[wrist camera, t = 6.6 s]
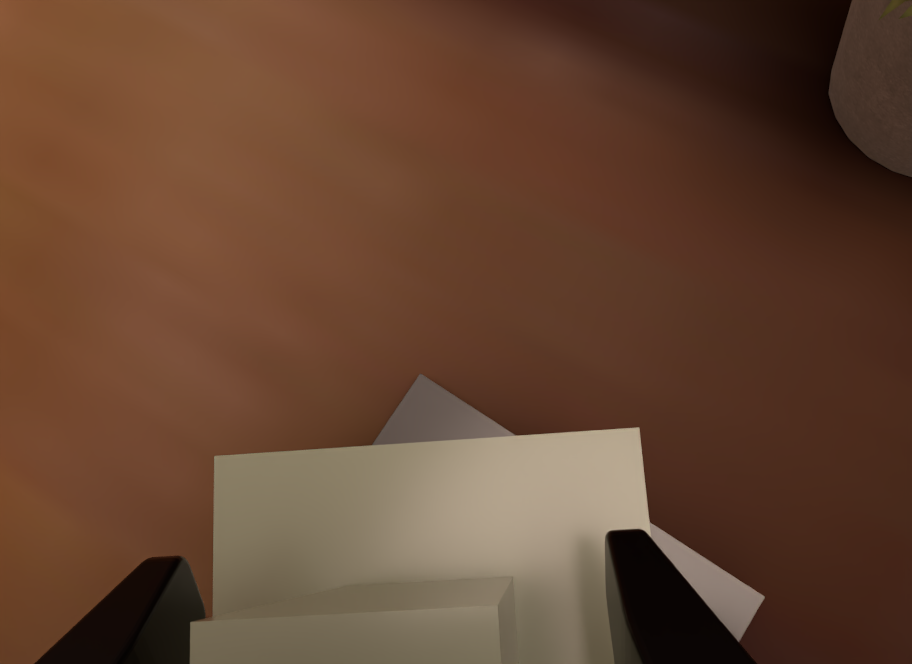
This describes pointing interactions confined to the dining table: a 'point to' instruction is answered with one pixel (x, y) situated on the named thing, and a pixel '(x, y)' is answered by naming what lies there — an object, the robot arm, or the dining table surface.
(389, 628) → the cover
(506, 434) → the slate mat
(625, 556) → the robot arm
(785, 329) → the dining table surface
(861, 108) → the house plant
